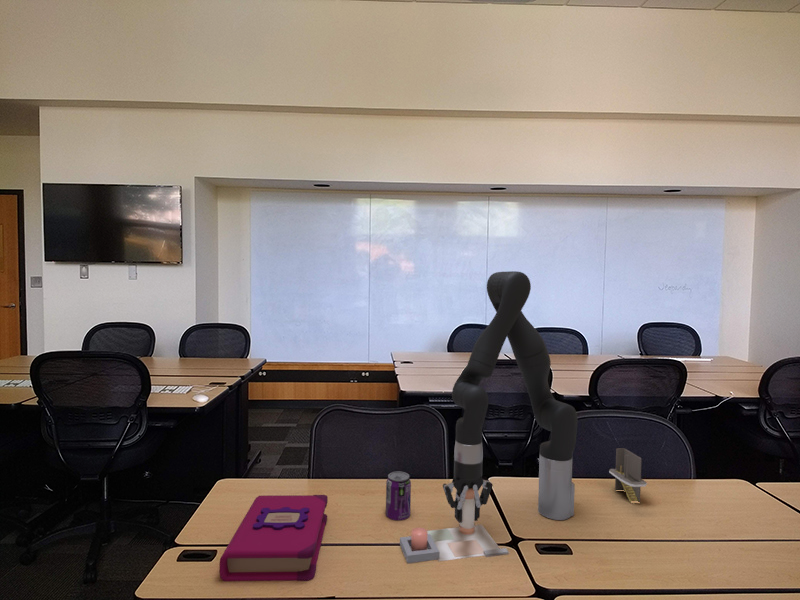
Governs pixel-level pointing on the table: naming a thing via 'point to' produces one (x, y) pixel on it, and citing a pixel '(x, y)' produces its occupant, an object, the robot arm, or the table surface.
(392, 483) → the beverage can
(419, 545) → the button
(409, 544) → the button housing
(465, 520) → the marker
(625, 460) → the architectural model
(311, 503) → the book
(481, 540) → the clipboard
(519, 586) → the table surface
